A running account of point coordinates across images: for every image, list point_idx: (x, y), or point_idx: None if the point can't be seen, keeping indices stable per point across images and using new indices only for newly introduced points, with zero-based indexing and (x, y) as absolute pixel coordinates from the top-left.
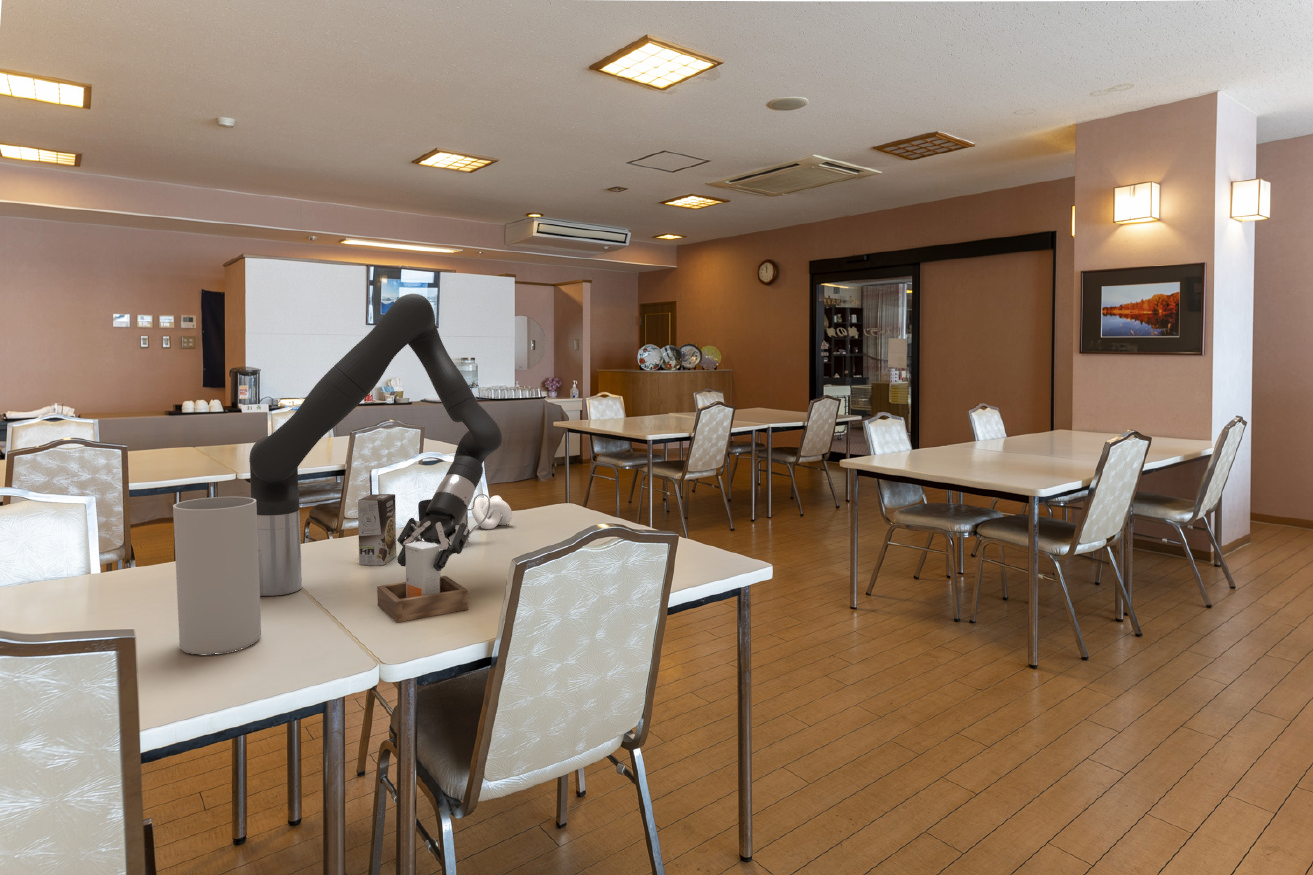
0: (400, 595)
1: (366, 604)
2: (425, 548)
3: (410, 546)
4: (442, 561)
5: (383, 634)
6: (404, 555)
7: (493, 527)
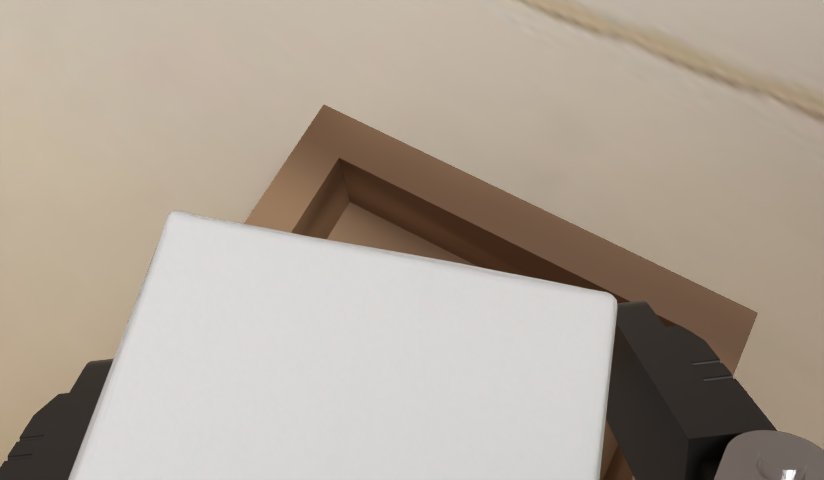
0: (619, 456)
1: (777, 326)
2: (154, 262)
3: (470, 266)
4: (26, 432)
5: (267, 17)
6: (632, 374)
7: None
